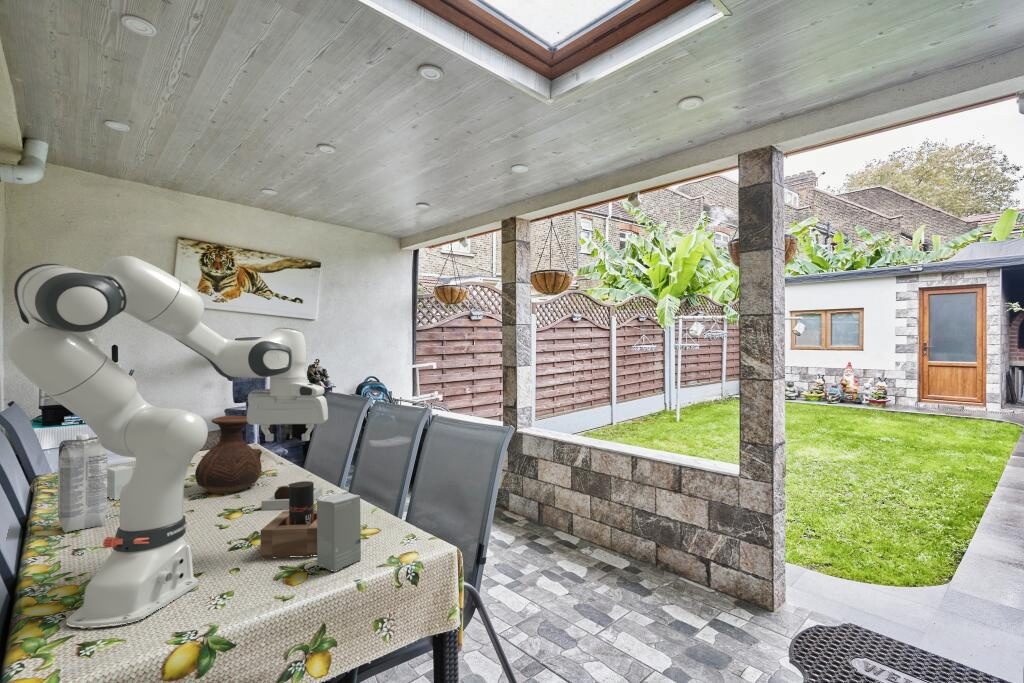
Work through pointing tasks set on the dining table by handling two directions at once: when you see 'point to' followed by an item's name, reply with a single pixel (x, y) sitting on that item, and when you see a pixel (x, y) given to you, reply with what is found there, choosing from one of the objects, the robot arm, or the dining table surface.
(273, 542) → the holder
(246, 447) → the jug
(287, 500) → the watch tray
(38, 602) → the dining table surface
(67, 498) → the juice carton
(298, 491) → the deodorant
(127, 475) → the small box
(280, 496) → the compass
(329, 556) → the skincare box
